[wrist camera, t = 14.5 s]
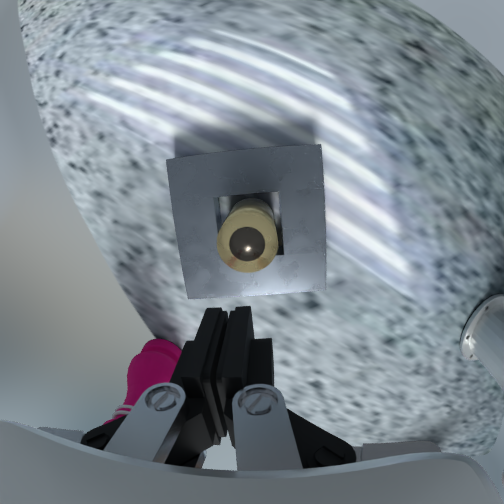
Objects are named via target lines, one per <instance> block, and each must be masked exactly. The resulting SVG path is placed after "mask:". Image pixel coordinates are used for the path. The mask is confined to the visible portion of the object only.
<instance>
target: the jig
mask: <svg viewBox="0 0 504 504" xmlns="http://www.w3.org/2000/svg"><path fill="white" fill-rule="evenodd" d="M166 164H167V172H168V180H169V188H170V196H171V203H172V210H173V217H174V223H175V230H176V236H177V242H178V248H179V254H180V259H181V265H182V270H183V276H184V281H185V286H186V291H187V296H188V299H202V298H222V297H240V296H256V295H270V294H284V293H296V292H308V291H319V290H326V221H325V195H324V177H323V162H322V148H321V144H318V145H294V146H278V147H264V148H252V149H242V150H232V151H223V152H215V153H207V154H200V155H193V156H186V157H180V158H173V159H167V160H166ZM277 191H279V204H280V218H281V232H282V246H278V250H277V253H276V256H275V258H274V259H273V261H272V262H271V263H270V264H269V265H268V266H267V267H265V268H264V269H262V270H260V271H257V272H252V273H244V272H239V271H236V270H234V269H232V268H230V267H229V266H227V265H226V264H225V263H224V262H223V260H222V259H221V257H220V255H219V253H218V250H217V236H218V233H219V230H220V229H221V227H222V223H221V215H220V206H219V198H218V197H220V196H230V195H240V194H252V193H264V192H277Z"/></svg>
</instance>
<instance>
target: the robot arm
mask: <svg viewBox="0 0 504 504" xmlns="http://www.w3.org/2000/svg"><path fill="white" fill-rule="evenodd" d="M460 349H461V353H462V354H463V356H464V357H465V358H466V359H468V360H478V359H479V361H480V362H481V363H482V364H483V365H484V367H485V368H486V369H487V370H488V372H489V373H490V374H491V375H492V377H493V378H494V379H495V380H496V382H497V383H498V384H499V386H500V387H501V388H502V389H503V391H504V295H503V294H497V295H493V296H491V297H489V298H488V299H487V300H485V301H484V302H483V303H482V304H481V305H480V306H479V307H478V308H477V309H476V310H475V311H474V313H473V314H472V316H471V317H470V319H469V320H468V322H467V324H466V326H465V328H464V330H463V333H462V336H461V341H460ZM227 430H228V432H229V436H230V440H231V443H232V446H233V447H234V448H235V449H236V460H237V471H231V470H230V471H229V470H213V469H201V468H202V466H203V463H204V461H205V458H206V454H207V451H206V449H208V448H210V447H211V446H213V445H220V442H221V437H226V435H227ZM502 483H503V487H504V470H503V473H502ZM0 504H503V502H502V499H501V497H500V495H499V493H498V491H497V489H496V487H495V485H494V483H493V482H492V480H491V478H490V477H489V475H488V474H487V472H486V471H485V470H484V468H483V467H482V466H481V465H480V464H479V463H478V462H477V461H475V460H474V459H472V458H471V457H468V456H466V455H462V454H456V453H445V452H441V449H440V448H439V447H438V446H437V445H436V444H435V443H433V442H430V441H411V442H398V443H370V444H363V445H362V447H353V446H351V445H350V444H348V443H347V442H345V441H343V440H342V439H340V438H338V437H336V436H334V435H332V434H330V433H328V432H327V431H325V430H323V429H321V428H319V427H318V426H316V425H314V424H312V423H311V422H309V421H307V420H305V419H304V418H302V417H300V416H299V415H297V414H295V413H294V412H292V411H290V410H289V409H287V408H286V405H285V401H284V397H283V395H282V393H281V392H280V391H279V390H278V389H277V388H275V387H274V362H273V347H272V338H265V339H254V330H253V321H252V312H251V306H242V307H236V309H235V311H230V315H229V319H228V313H227V311H222V308H221V307H220V308H207V309H206V311H205V313H204V316H203V319H202V321H201V324H200V326H199V329H198V332H197V334H196V337H195V339H194V341H186V343H185V345H184V348H183V350H182V352H181V355H180V357H179V360H178V362H177V364H176V367H175V369H174V372H173V374H172V377H171V379H170V382H169V383H158V384H156V385H153V386H151V387H149V388H148V389H146V390H145V391H144V393H143V394H142V395H141V396H140V398H139V399H138V401H137V402H136V404H135V405H134V407H133V408H132V409H131V411H130V412H129V414H127V415H124V416H122V417H120V418H118V419H115V420H113V421H111V422H109V423H106V424H104V425H102V426H99V427H97V428H94V429H92V430H91V431H89V432H87V433H86V434H85V432H84V431H78V430H66V429H56V428H48V427H39V428H34V427H31V426H29V425H25V424H21V423H18V422H13V421H7V420H0Z"/></svg>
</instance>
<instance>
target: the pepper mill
mask: <svg viewBox="0 0 504 504" xmlns="http://www.w3.org/2000/svg"><path fill="white" fill-rule="evenodd" d="M181 352H182V351H181V350H180V349H179V348H178V347H177V346H176V345H175V344H173V343H172V342H170V341H167V340H164V339H153V340H150V341H148V342H147V343H146V344H145V346H144V347H143V349H142V351H141V353H140V354H138V355H136V356H135V357H134V358H133V359H132V361H131V363H130V366H129V368H128V374H127V384H128V391H127V397H126V399H125V402H124V404H123V405H120V406H118V407H117V408H116V409H115V412H114V414H113V416H112V419H111V420H108V421H106V422H105V423H104V424H106V423H109V422H111V421H113V420H115V419H118V418H120V417H122V416H124V415H127V414H129V412H130V411H131V409H132V408H133V407H134V405H135V404H136V402H137V401H138V399H139V398H140V396H141V395H142V394H143V393H144V391H145V390H146V389H148V388H149V387H151V386H153V385H156V384H158V383H169V382H170V379H171V377H172V374H173V372H174V369H175V367H176V364H177V362H178V360H179V357H180V355H181ZM104 424H103V425H104Z"/></svg>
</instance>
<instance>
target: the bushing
mask: <svg viewBox="0 0 504 504" xmlns="http://www.w3.org/2000/svg"><path fill="white" fill-rule="evenodd" d="M217 250H218V253H219V255H220V257H221V259H222V260H223V262H224V263H225V264H226V265H227V266H229V267H230V268H232V269H234V270H236V271H239V272H244V273H252V272H257V271H260V270H262V269H264V268H265V267H267V266H268V265H269V264H270V263H271V262H272V261H273V259H274V258H275V256H276V253H277V250H278V238H277V232H276V226H275V221H274V215H273V212H272V210H271V208H270V207H269V206H268V204H266V203H265V202H264V201H262V200H260V199H257V198H246V199H243V200H241V201H239V202H238V203H237V204H236V205H235V206H234V207H233V208H232V210H231V212H230V213H229V215H228V217H227V218H226V220H225V222H224V223H223V225H222V227H221V229H220V230H219V233H218V236H217Z"/></svg>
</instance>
